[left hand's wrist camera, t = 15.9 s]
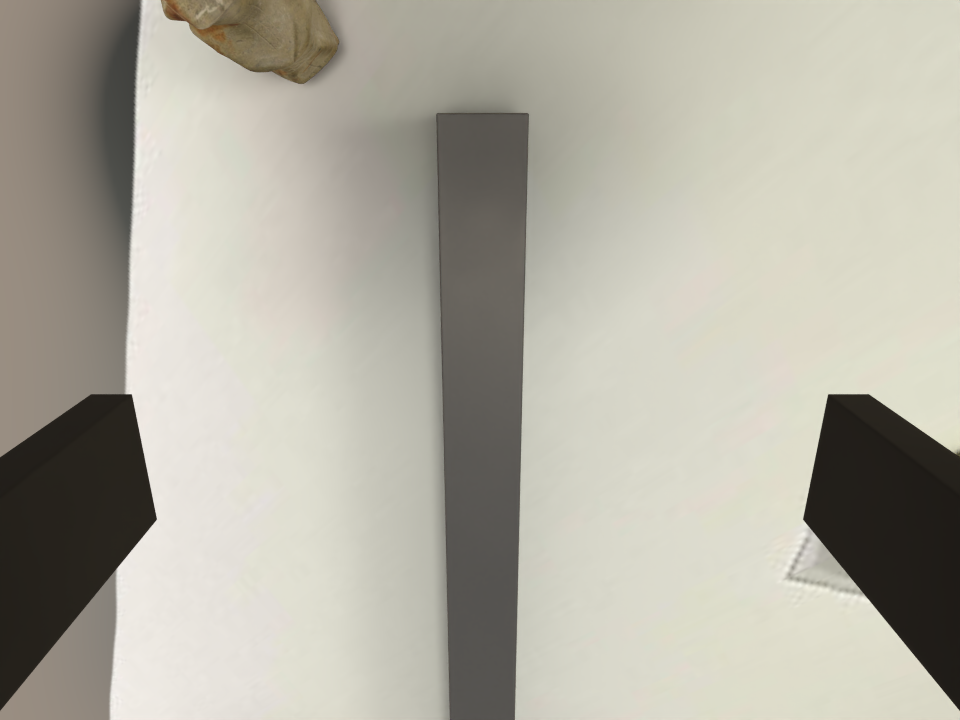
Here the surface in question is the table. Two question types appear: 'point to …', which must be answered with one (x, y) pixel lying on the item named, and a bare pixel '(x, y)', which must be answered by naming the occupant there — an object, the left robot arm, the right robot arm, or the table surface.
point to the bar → (482, 398)
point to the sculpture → (262, 33)
